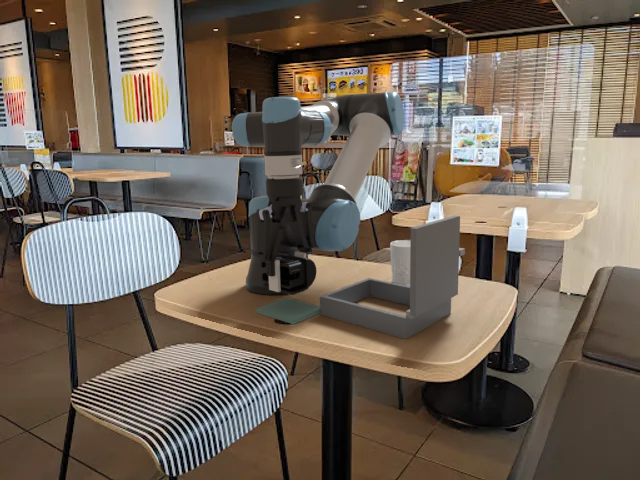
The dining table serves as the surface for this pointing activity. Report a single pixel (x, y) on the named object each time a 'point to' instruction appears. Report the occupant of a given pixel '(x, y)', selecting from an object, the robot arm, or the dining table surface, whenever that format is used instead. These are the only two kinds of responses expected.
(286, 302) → the rubber pad
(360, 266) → the dining table surface
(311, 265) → the end cap
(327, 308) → the case
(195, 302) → the dining table surface
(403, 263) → the white cup
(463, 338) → the dining table surface
